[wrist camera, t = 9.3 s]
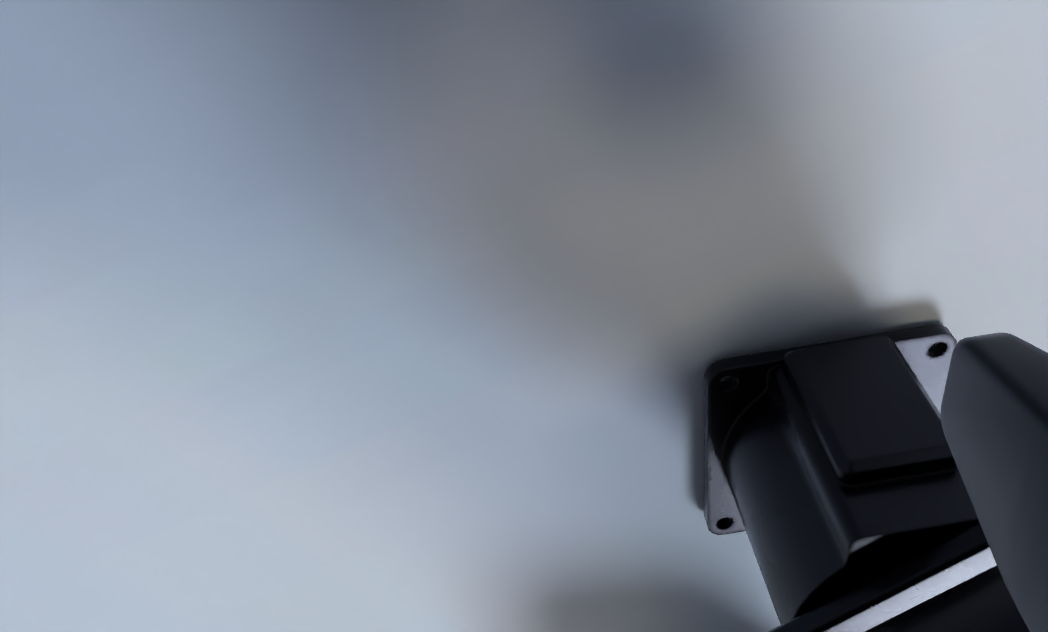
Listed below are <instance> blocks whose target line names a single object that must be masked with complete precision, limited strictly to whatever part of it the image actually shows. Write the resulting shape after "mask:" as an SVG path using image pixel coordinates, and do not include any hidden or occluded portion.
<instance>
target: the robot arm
mask: <svg viewBox="0 0 1048 632" xmlns="http://www.w3.org/2000/svg"><path fill="white" fill-rule="evenodd" d="M938 342H939V343H938ZM935 343H937V344H936V345H935V346H933V347H931V346H932V345H933V344H935ZM727 376H731V377H730V378H729V379H727V380H724V381H720V380H721V379H722V378H724V377H727ZM704 516H705V520H706V523H707V526H708V529H709V531H711V532H712V533H714V534H717V535H723V534H730V533H736V532H742V531H746V532H747V535H748V538H749V540H750V543H751V546H752V548H753V551H754V554H755V557H756V559H757V562H758V565H759V567H760V570H761V573H762V575H763V578H764V581H765V584H766V586H767V589H768V592H769V594H770V597H771V600H772V602H773V605H774V608H775V611H776V613H777V616H778V619H779V621H780V624H781V625H780V626H778V627H777V628H775V629H773V630H771V631H769V632H1048V353H1047V352H1045V351H1043V350H1041V349H1039V348H1037V347H1035V346H1033V345H1032V344H1030V343H1028V342H1026V341H1024V340H1022V339H1020V338H1018V337H1016V336H1014V335H1011V334H1008V333H994V334H988V335H981V336H974V337H968V338H964V339H962V340H960V341H959V342H958V343H957V341H956V340H955V338H954V337H953V336H952V334H951V333H950V331H949V330H948V329H947V327H944V326H942V325H931V326H925V327H919V328H913V329H906V330H900V331H894V332H888V333H882V334H875V335H869V336H863V337H857V338H851V339H844V340H838V341H832V342H826V343H820V344H813V345H807V346H801V347H795V348H789V349H782V350H776V351H770V352H764V353H758V354H751V355H745V356H739V357H733V358H727V359H722V360H719V361H716V362H714V363H713V364H711V365H710V366H709V367H708V368H707V370H706V371H705V375H704Z"/></svg>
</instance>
